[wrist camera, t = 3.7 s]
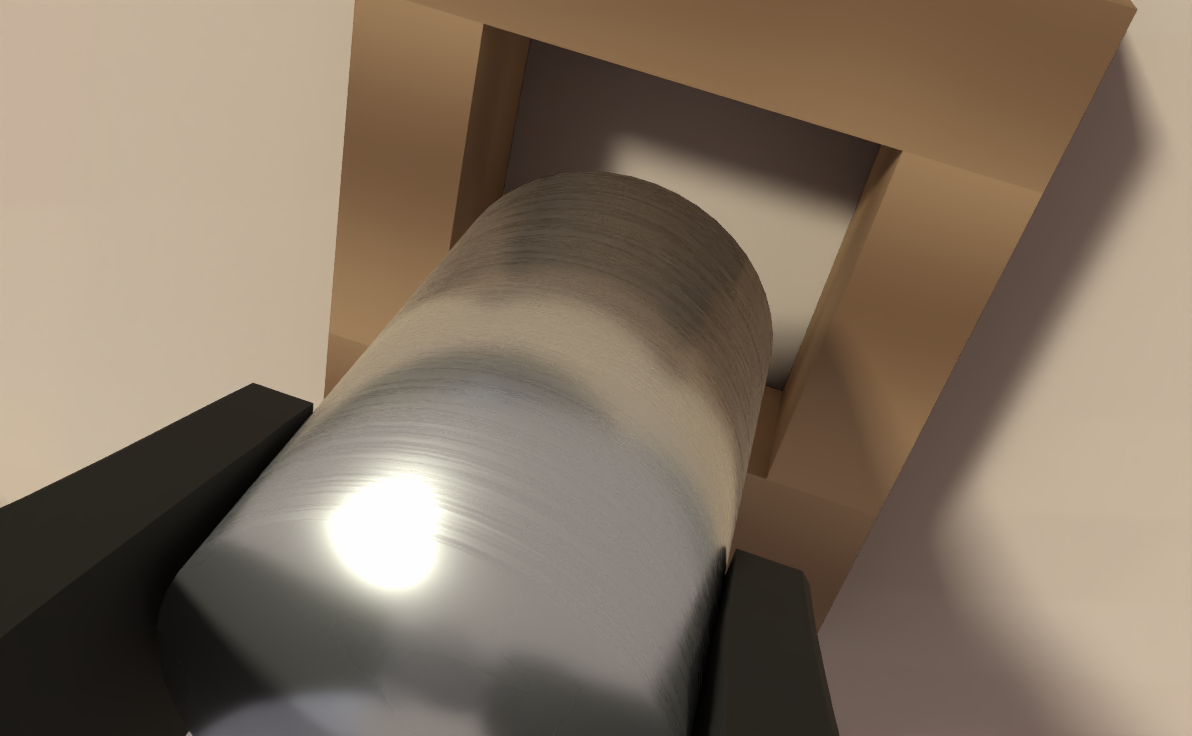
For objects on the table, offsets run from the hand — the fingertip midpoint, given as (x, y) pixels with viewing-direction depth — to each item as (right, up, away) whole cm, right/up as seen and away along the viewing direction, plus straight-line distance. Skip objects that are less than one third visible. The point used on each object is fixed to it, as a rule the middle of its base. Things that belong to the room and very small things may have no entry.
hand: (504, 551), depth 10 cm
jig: (+2, +3, +8) cm, 9 cm away
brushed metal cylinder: (+1, +2, +3) cm, 4 cm away
